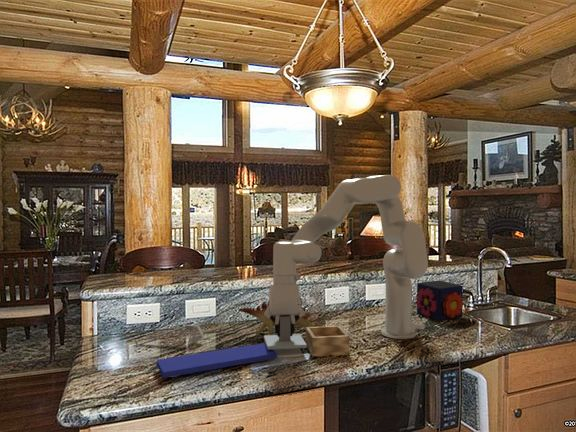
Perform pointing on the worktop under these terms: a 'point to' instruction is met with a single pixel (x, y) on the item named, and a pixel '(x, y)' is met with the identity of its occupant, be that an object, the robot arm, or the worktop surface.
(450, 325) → the worktop surface
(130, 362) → the worktop surface
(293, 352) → the mat
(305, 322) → the toy
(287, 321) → the lid
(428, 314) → the decorative cube
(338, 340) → the pine box
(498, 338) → the worktop surface
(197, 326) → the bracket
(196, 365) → the long blue plank
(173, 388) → the worktop surface
